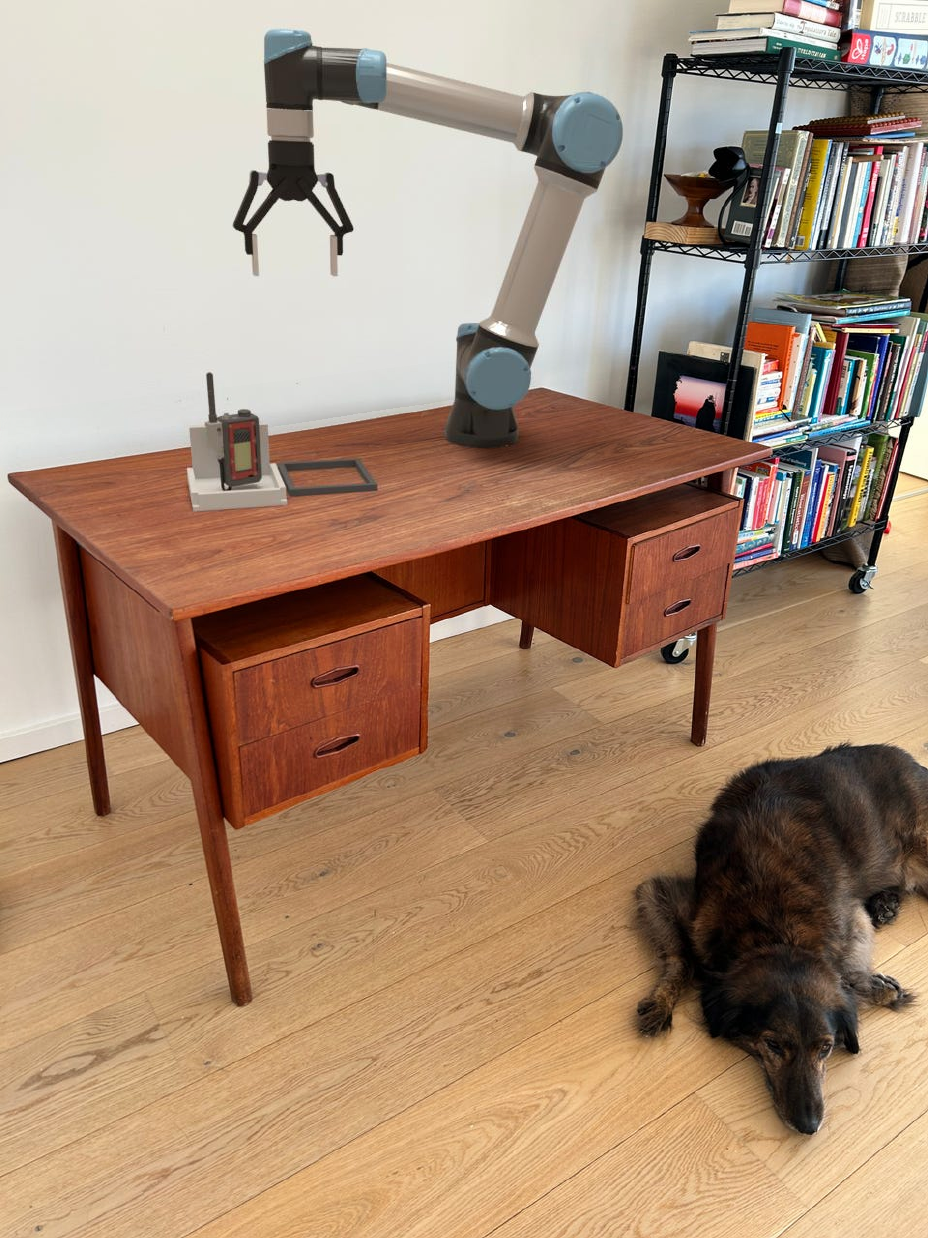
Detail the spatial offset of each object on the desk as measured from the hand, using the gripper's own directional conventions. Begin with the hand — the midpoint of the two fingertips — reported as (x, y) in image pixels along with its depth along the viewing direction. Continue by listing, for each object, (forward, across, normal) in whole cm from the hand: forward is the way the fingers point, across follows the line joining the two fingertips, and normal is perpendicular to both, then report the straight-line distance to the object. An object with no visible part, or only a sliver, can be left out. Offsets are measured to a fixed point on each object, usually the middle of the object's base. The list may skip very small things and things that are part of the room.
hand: (295, 275), depth 168 cm
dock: (+33, +14, +19) cm, 40 cm away
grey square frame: (+33, -2, +15) cm, 36 cm away
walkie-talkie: (+32, +14, +19) cm, 40 cm away
